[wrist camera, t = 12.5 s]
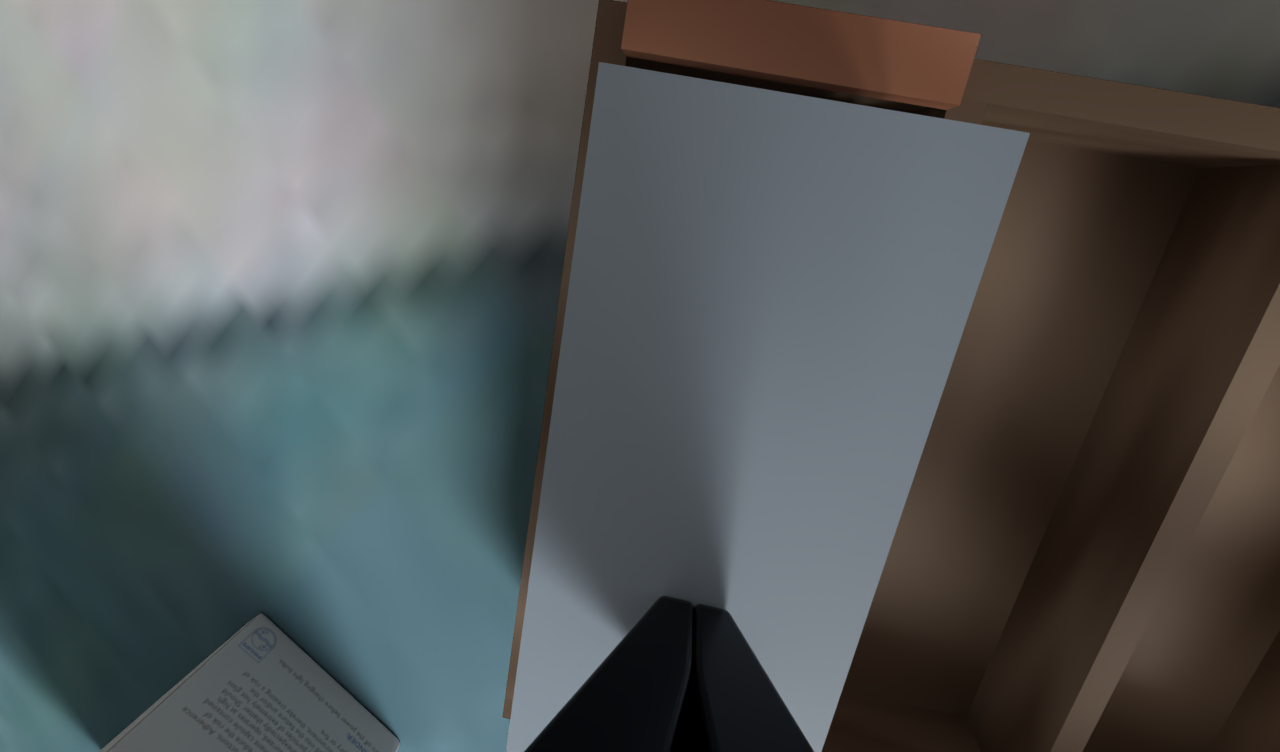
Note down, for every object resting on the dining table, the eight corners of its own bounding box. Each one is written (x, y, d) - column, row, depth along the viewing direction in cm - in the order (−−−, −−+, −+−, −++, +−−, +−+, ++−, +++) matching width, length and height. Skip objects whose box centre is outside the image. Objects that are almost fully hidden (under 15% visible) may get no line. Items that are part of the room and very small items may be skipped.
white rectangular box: (734, 627, 17) (741, 986, 9) (590, 594, 17) (483, 916, 10) (854, 166, 13) (1030, 132, 6) (669, 134, 14) (598, 61, 6)
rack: (1192, 774, 17) (1334, 951, 13) (543, 620, 19) (493, 737, 15) (1540, 186, 12) (1926, 184, 8) (631, 36, 14) (593, -27, 10)
